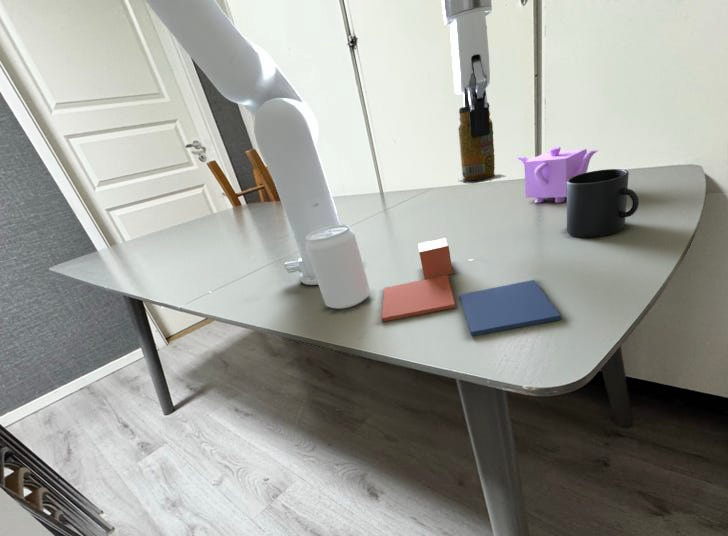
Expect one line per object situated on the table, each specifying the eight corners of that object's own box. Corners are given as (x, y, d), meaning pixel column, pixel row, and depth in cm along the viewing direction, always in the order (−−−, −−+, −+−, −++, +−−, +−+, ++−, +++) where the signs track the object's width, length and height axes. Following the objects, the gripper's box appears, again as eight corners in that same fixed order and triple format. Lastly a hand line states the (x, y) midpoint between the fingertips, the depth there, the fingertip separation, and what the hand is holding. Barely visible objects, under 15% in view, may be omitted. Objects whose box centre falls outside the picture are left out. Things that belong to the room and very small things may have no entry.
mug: (619, 242, 66) (623, 183, 61) (555, 235, 75) (555, 184, 70) (650, 223, 69) (657, 167, 65) (586, 219, 78) (588, 169, 74)
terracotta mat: (382, 321, 60) (381, 318, 59) (385, 290, 70) (384, 287, 70) (455, 307, 58) (455, 303, 58) (448, 278, 69) (447, 274, 68)
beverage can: (352, 312, 65) (330, 239, 59) (316, 309, 69) (292, 241, 63) (380, 291, 70) (362, 222, 64) (345, 289, 75) (325, 224, 69)
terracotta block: (424, 279, 70) (419, 252, 68) (423, 269, 75) (418, 243, 72) (452, 273, 70) (448, 245, 67) (450, 264, 74) (445, 237, 71)
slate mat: (471, 336, 51) (470, 332, 50) (460, 298, 61) (459, 294, 61) (560, 319, 49) (560, 315, 49) (534, 283, 60) (533, 279, 59)
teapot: (526, 210, 92) (523, 159, 87) (518, 198, 104) (516, 152, 98) (597, 197, 89) (599, 143, 84) (582, 186, 100) (583, 137, 95)
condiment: (490, 172, 80) (486, 101, 73) (506, 177, 72) (503, 99, 66) (454, 180, 79) (447, 110, 73) (467, 186, 72) (460, 108, 66)
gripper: (439, 22, 71) (451, 136, 81) (448, 0, 57) (462, 143, 66) (481, 12, 70) (489, 128, 80) (502, -13, 56) (509, 133, 65)
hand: (477, 134), depth 73 cm, fingers closed on condiment, 6 cm apart
